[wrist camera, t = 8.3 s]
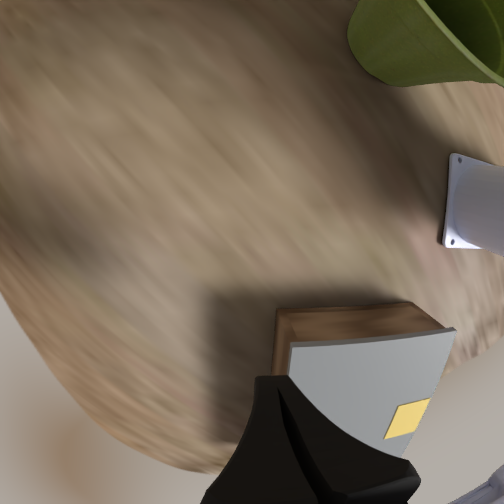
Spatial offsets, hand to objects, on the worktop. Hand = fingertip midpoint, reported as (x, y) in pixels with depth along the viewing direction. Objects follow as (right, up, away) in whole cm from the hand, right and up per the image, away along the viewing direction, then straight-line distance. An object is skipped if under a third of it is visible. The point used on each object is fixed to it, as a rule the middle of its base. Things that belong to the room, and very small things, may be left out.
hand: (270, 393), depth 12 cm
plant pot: (+10, +22, +6) cm, 25 cm away
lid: (+7, -7, +8) cm, 13 cm away
